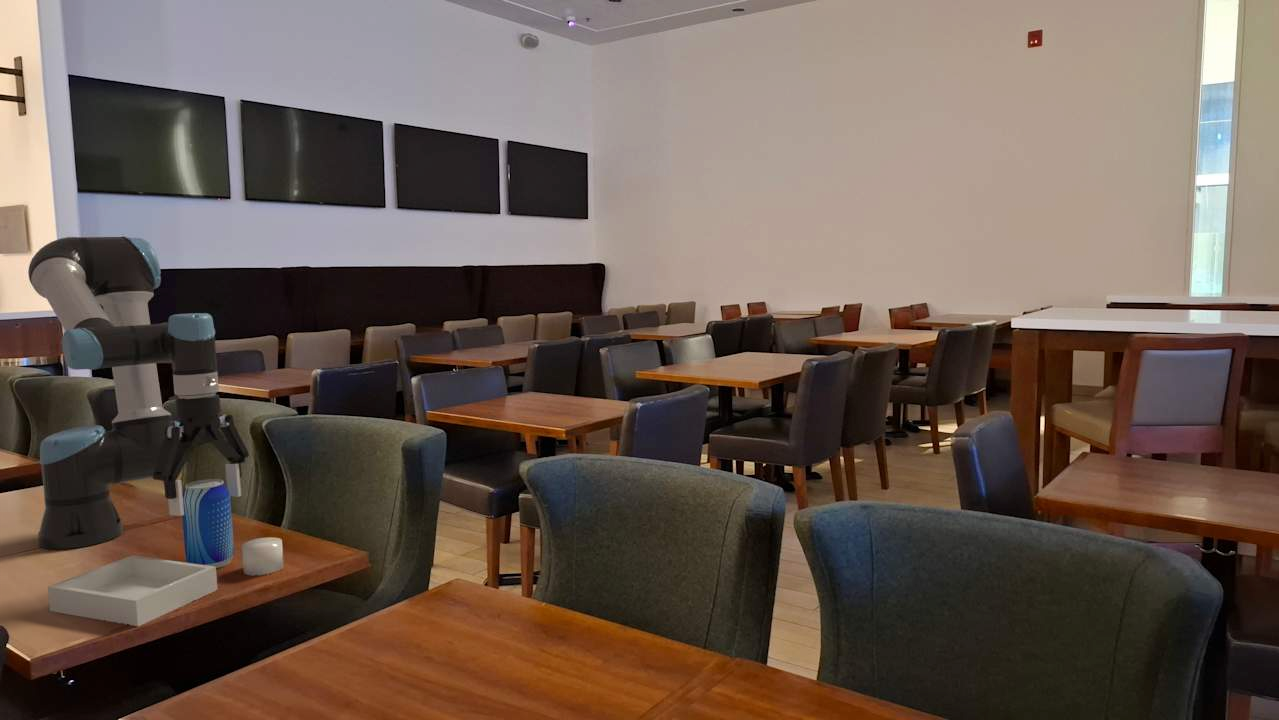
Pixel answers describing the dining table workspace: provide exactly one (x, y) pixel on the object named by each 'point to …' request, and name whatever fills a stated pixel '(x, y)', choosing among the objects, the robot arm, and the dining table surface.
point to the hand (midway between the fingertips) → (206, 505)
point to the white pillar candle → (262, 556)
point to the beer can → (207, 523)
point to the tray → (132, 590)
